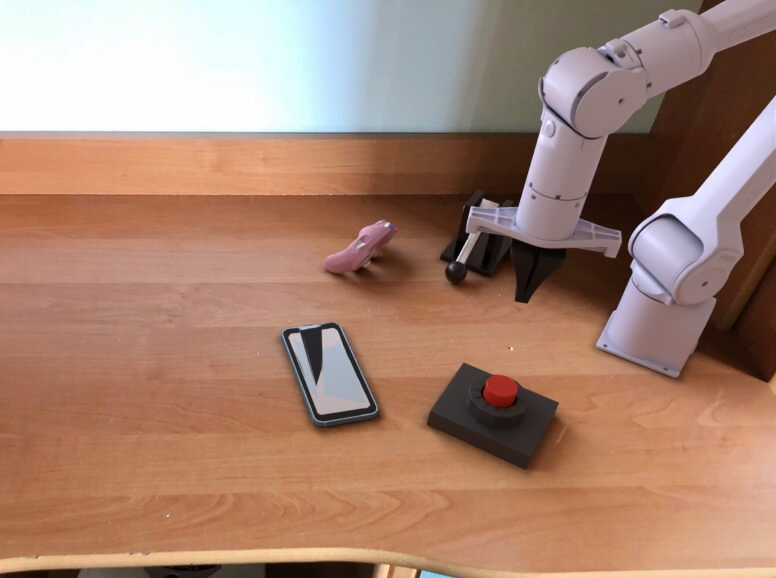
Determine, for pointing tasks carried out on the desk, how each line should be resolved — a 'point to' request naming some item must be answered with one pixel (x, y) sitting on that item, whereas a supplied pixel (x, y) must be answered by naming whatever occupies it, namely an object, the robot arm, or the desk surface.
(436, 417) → the button box
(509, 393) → the button
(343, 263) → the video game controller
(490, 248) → the bracket
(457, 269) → the press lever
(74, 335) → the desk surface
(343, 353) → the smartphone
